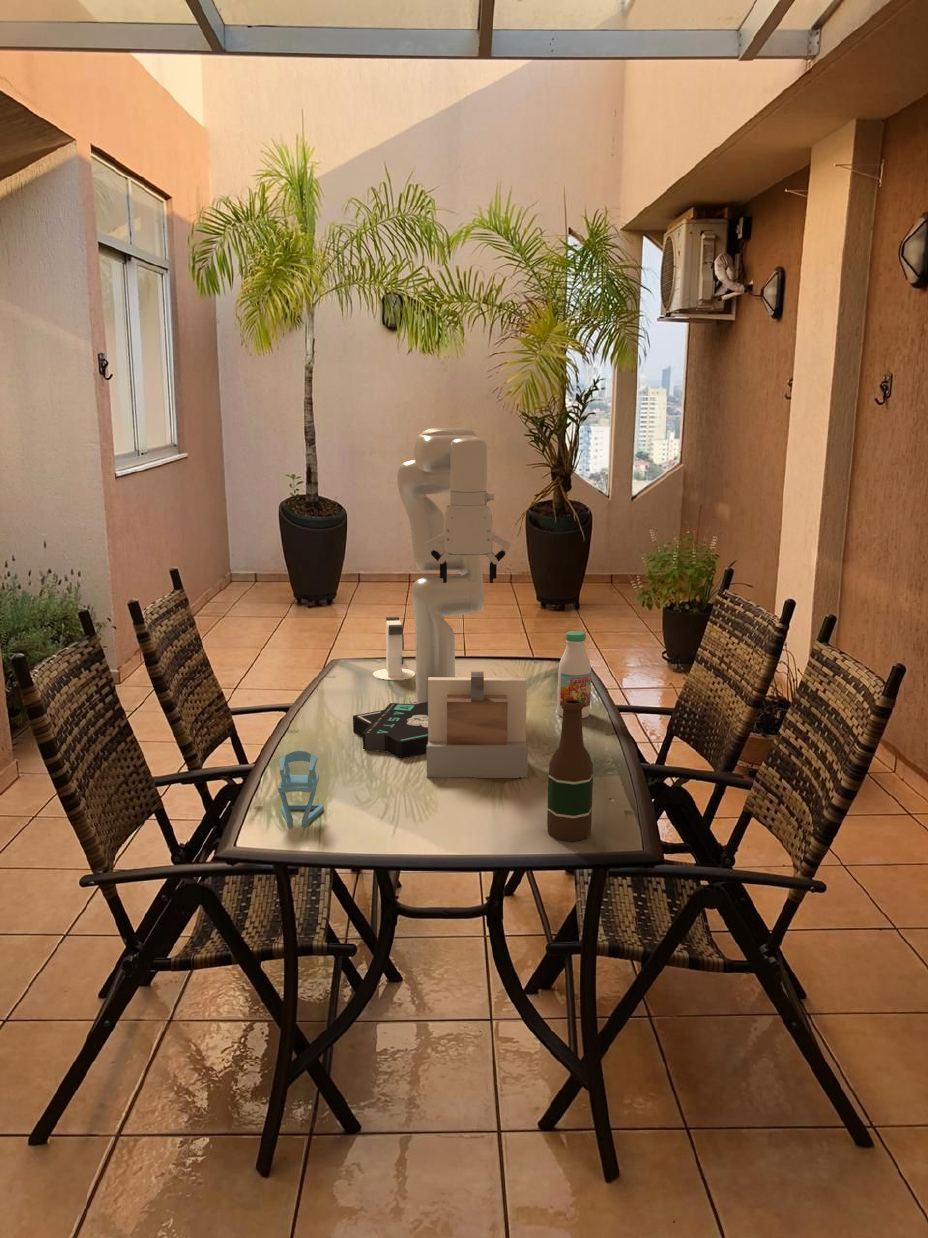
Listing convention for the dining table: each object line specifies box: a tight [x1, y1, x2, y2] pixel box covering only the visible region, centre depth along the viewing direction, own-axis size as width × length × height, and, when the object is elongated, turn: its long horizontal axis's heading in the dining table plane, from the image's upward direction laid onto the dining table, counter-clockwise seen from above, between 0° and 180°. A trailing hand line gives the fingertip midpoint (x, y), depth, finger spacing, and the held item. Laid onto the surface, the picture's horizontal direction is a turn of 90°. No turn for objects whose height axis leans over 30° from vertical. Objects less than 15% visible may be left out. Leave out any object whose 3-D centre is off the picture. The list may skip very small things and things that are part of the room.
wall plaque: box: [352, 702, 428, 760], centre depth 236 cm, size 30×4×30 cm
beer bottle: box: [546, 699, 594, 843], centre depth 183 cm, size 8×8×24 cm
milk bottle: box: [556, 630, 592, 719], centre depth 250 cm, size 8×8×20 cm
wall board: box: [426, 676, 529, 779], centre depth 214 cm, size 10×20×18 cm, turn 89°
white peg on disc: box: [372, 616, 416, 681], centre depth 284 cm, size 12×11×15 cm
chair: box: [277, 750, 324, 828], centre depth 190 cm, size 8×8×12 cm
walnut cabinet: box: [447, 671, 508, 745], centre depth 213 cm, size 5×12×15 cm, turn 90°
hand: (468, 582), depth 221 cm, fingers open, 9 cm apart
